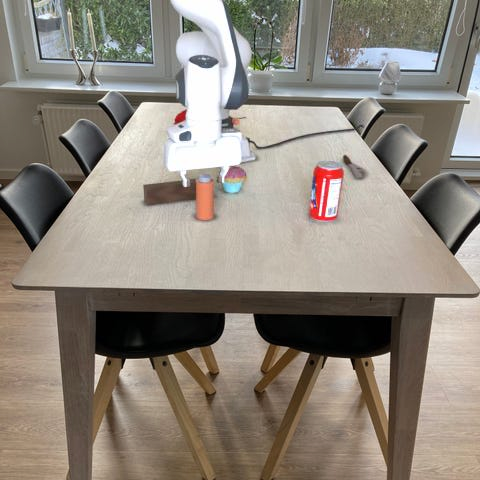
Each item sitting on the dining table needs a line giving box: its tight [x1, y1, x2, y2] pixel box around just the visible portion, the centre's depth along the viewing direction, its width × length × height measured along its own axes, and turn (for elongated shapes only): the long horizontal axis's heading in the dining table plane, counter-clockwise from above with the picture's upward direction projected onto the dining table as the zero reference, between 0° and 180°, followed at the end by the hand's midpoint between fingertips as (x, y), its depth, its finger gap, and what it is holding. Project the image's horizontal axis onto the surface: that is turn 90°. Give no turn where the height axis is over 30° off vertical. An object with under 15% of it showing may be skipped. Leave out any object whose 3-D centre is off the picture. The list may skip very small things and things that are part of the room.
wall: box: [142, 178, 197, 206], centre depth 150 cm, size 20×3×5 cm, turn 114°
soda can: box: [308, 160, 345, 223], centre depth 140 cm, size 8×8×15 cm
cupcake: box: [217, 165, 248, 194], centre depth 156 cm, size 9×8×12 cm
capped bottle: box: [195, 173, 215, 221], centre depth 139 cm, size 5×5×11 cm
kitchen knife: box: [342, 154, 365, 179], centre depth 180 cm, size 21×2×5 cm
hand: (203, 184), depth 137 cm, fingers open, 8 cm apart
